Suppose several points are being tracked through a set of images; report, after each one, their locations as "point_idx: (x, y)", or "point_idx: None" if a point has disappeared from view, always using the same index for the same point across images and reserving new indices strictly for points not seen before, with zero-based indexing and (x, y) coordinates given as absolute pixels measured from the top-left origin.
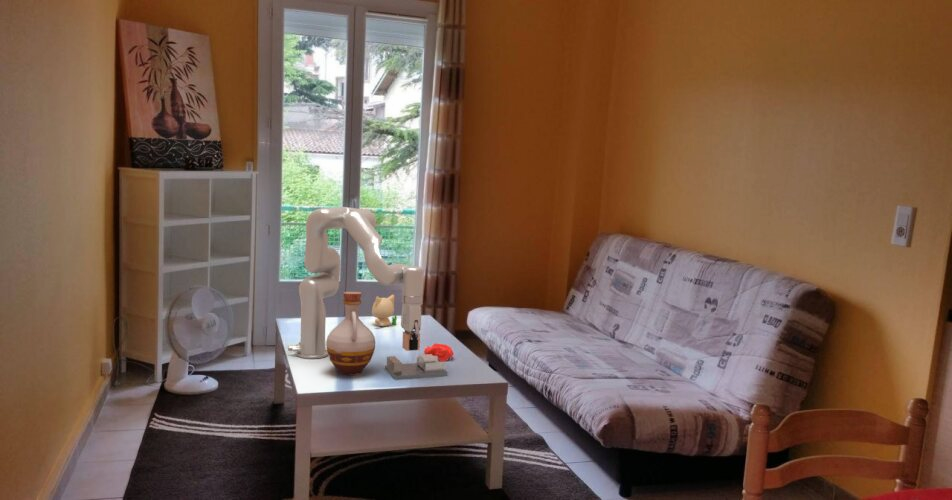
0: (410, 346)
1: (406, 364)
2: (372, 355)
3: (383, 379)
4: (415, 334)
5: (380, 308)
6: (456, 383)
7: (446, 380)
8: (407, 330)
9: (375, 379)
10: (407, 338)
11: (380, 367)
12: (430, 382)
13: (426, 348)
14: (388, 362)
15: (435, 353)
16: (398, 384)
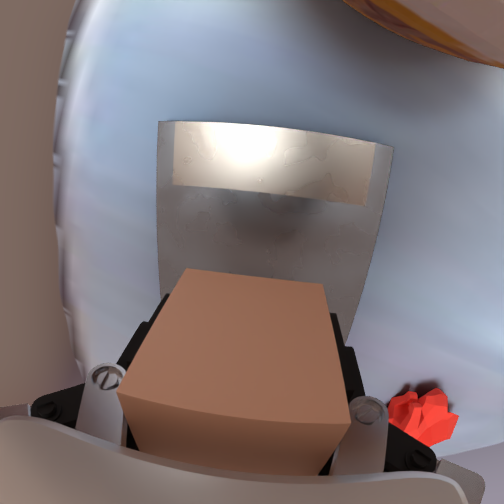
0: (155, 318)
1: (354, 271)
2: (359, 5)
3: (200, 62)
4: (9, 409)
5: None
6: (88, 337)
7: (120, 329)
8: (27, 428)
9: (216, 24)
10: (140, 357)
11: (422, 142)
12: (102, 265)
13: (440, 409)
14: (324, 133)
15: (395, 418)
16: (103, 116)
